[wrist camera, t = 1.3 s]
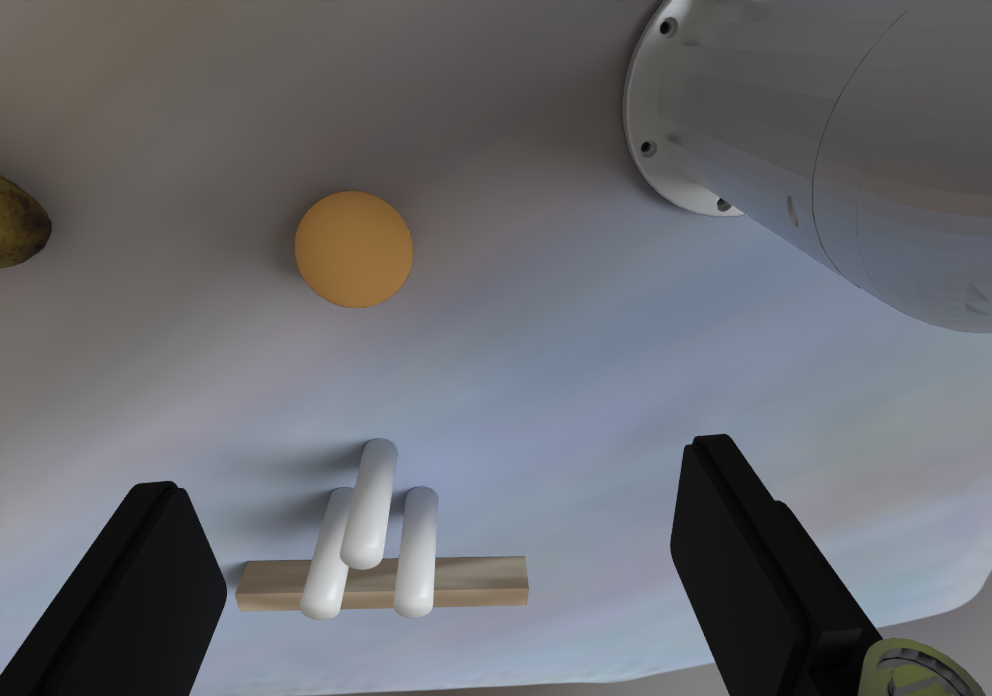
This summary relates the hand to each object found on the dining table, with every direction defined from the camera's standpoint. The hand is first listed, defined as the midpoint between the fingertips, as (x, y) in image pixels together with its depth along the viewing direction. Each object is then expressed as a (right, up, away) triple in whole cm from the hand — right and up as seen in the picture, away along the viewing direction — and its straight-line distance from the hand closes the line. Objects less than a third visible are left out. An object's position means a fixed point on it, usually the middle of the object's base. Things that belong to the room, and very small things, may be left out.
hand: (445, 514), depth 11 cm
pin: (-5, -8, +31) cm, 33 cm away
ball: (-6, +8, +19) cm, 21 cm away
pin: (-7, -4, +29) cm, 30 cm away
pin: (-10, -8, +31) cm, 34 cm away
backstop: (-8, -15, +35) cm, 39 cm away
